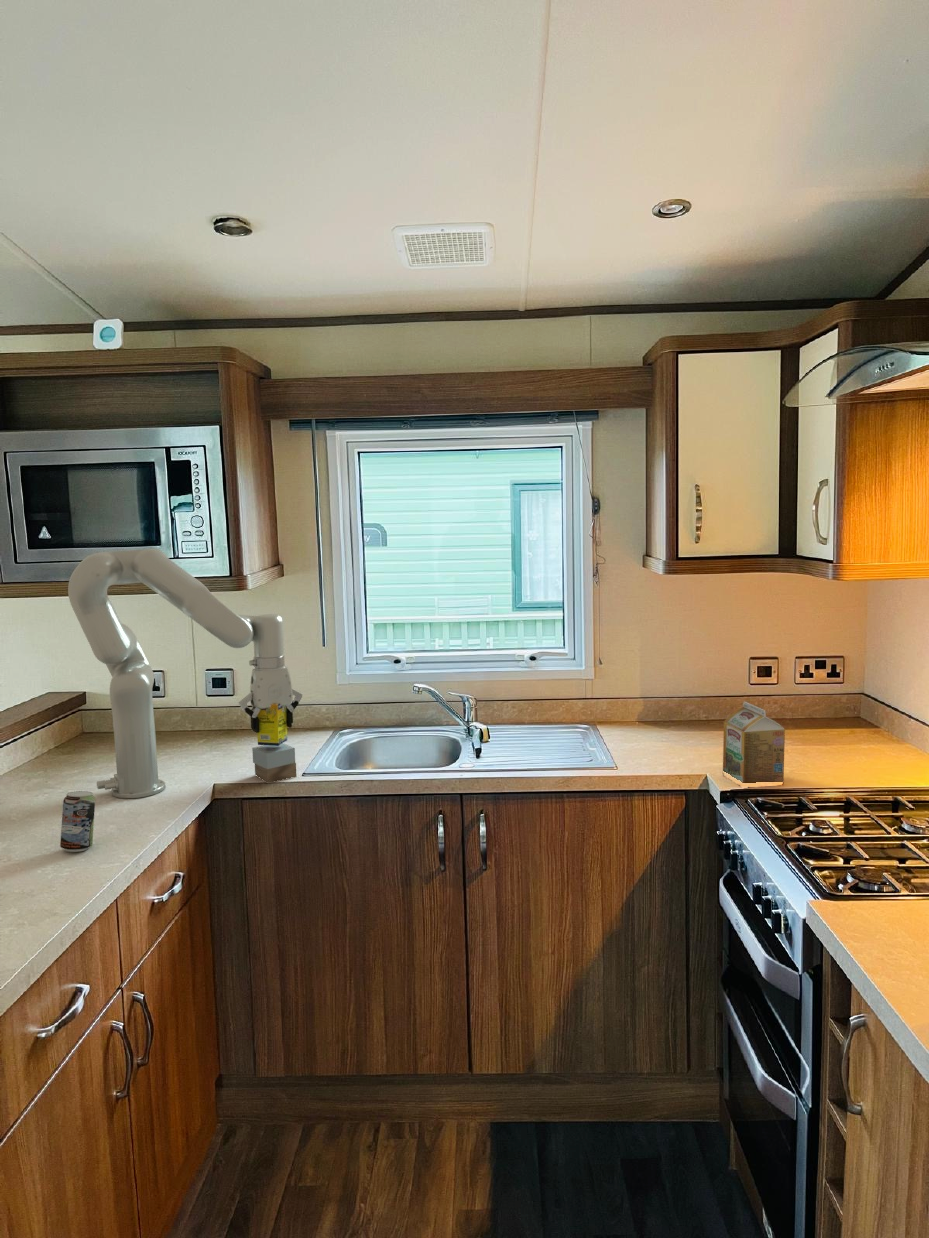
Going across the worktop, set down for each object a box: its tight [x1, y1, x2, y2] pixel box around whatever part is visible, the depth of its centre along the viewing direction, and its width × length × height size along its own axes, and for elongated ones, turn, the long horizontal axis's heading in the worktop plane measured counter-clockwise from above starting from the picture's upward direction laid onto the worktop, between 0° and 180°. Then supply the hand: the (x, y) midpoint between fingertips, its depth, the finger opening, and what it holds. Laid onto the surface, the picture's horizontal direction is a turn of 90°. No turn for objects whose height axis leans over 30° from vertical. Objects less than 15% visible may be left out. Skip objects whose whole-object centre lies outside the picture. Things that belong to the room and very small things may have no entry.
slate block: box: [251, 742, 296, 769], centre depth 221 cm, size 8×8×4 cm
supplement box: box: [256, 703, 288, 746], centre depth 219 cm, size 6×6×11 cm
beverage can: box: [59, 790, 96, 853], centre depth 174 cm, size 6×7×12 cm
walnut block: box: [254, 762, 297, 784], centre depth 222 cm, size 8×8×4 cm
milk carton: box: [722, 701, 786, 783], centre depth 210 cm, size 11×11×19 cm
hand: (272, 728), depth 220 cm, fingers closed on supplement box, 8 cm apart
